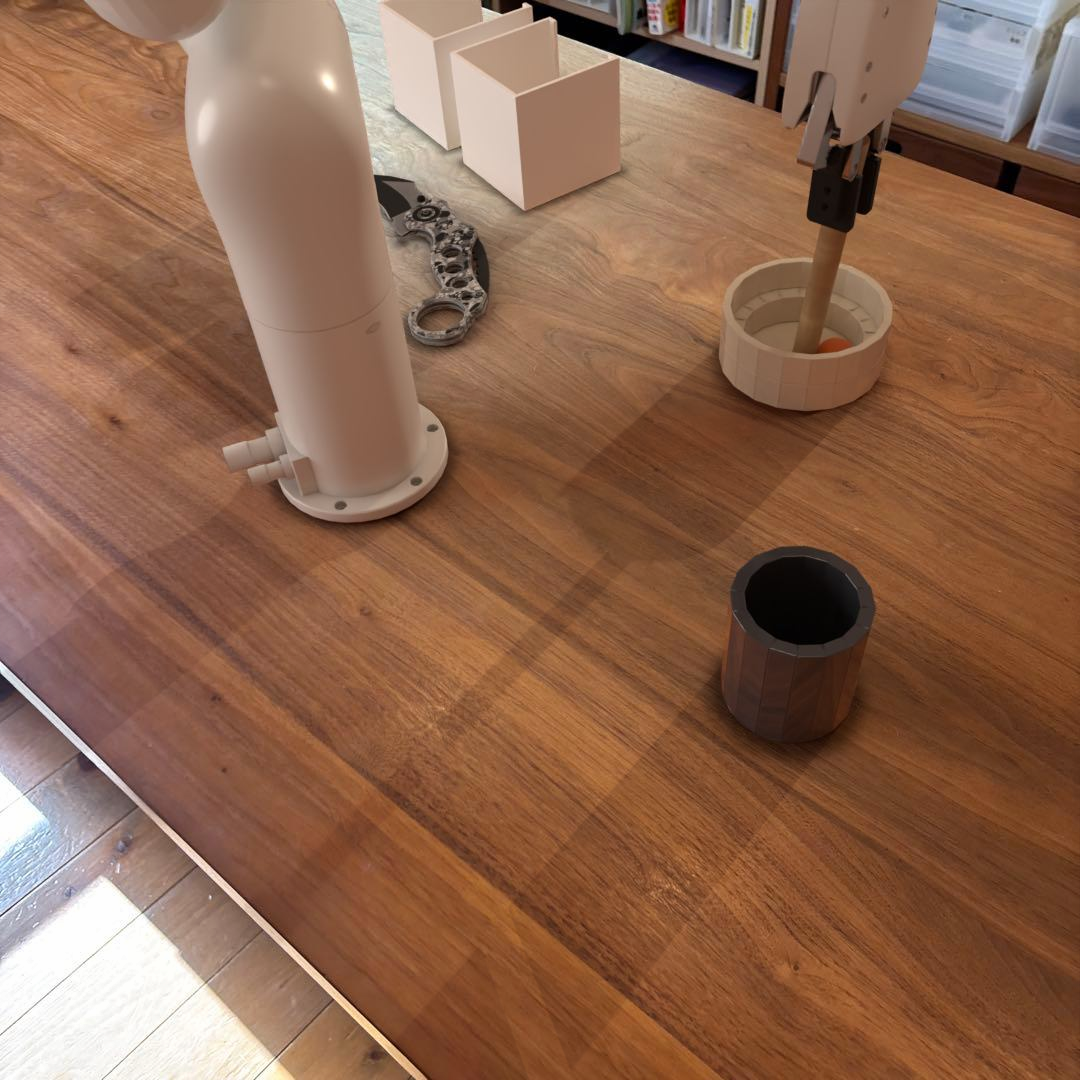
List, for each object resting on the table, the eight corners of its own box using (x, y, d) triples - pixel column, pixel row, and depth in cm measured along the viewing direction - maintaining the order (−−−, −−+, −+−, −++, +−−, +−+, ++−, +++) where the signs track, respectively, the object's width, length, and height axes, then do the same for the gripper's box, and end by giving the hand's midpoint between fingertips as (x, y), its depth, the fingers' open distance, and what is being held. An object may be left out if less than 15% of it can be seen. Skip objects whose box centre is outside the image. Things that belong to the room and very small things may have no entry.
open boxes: (395, 109, 117) (377, 2, 109) (483, 76, 120) (472, -29, 112) (524, 211, 102) (515, 97, 94) (620, 170, 106) (619, 57, 98)
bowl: (767, 435, 81) (774, 377, 77) (692, 340, 89) (694, 283, 84) (912, 388, 83) (926, 329, 79) (826, 299, 91) (835, 241, 87)
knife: (332, 173, 107) (431, 144, 108) (336, 187, 108) (434, 158, 109) (404, 348, 89) (521, 311, 90) (408, 362, 90) (524, 326, 91)
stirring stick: (801, 369, 82) (854, 148, 68) (786, 355, 83) (835, 135, 69) (820, 361, 83) (876, 141, 69) (805, 347, 84) (857, 127, 70)
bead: (836, 383, 82) (856, 346, 81) (801, 365, 83) (821, 328, 82) (848, 385, 84) (868, 349, 83) (814, 368, 85) (833, 332, 84)
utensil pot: (759, 766, 63) (774, 676, 56) (698, 665, 68) (706, 572, 61) (875, 720, 65) (903, 627, 58) (808, 624, 70) (826, 529, 63)
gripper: (892, -141, 65) (845, 148, 79) (750, -48, 58) (725, 255, 71) (1016, -119, 62) (944, 179, 76) (883, -17, 54) (830, 295, 68)
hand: (838, 214), depth 73 cm, fingers closed on stirring stick, 1 cm apart
